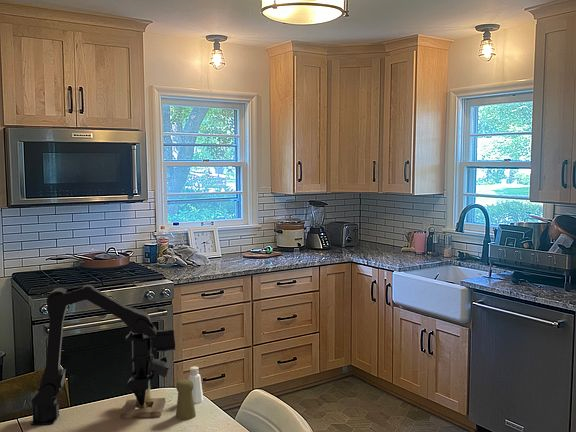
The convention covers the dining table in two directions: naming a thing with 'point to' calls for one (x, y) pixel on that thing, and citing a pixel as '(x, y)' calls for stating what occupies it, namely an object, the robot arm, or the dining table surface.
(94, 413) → the dining table surface
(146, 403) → the brass pin
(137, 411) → the socket board
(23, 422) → the dining table surface
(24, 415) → the dining table surface
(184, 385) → the pepper shaker
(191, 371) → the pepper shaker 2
